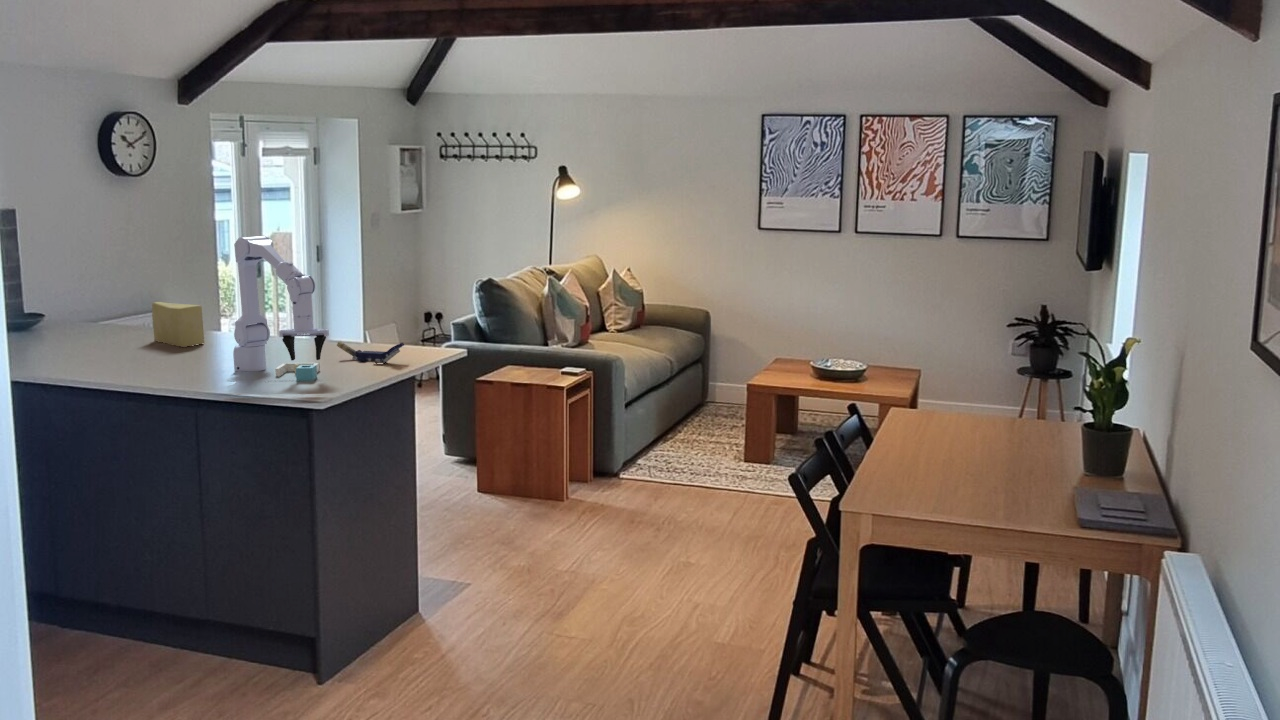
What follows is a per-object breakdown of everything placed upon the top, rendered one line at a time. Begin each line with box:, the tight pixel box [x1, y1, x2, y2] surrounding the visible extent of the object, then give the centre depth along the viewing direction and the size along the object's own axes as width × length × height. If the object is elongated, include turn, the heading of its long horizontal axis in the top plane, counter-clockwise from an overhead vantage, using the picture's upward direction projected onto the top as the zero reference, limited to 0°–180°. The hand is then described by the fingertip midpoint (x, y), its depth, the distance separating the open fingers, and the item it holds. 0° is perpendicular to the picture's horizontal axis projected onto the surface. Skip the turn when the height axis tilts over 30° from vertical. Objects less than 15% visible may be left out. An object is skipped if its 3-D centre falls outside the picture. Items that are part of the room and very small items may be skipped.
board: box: [264, 364, 323, 383], centre depth 360 cm, size 17×28×4 cm, turn 2°
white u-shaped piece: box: [275, 362, 321, 378], centre depth 358 cm, size 11×9×2 cm
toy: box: [336, 340, 405, 364], centre depth 380 cm, size 10×22×10 cm, turn 78°
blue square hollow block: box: [295, 365, 318, 382], centre depth 349 cm, size 5×5×4 cm
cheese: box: [151, 301, 205, 348], centre depth 418 cm, size 22×10×15 cm, turn 59°
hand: (305, 359), depth 349 cm, fingers open, 7 cm apart
